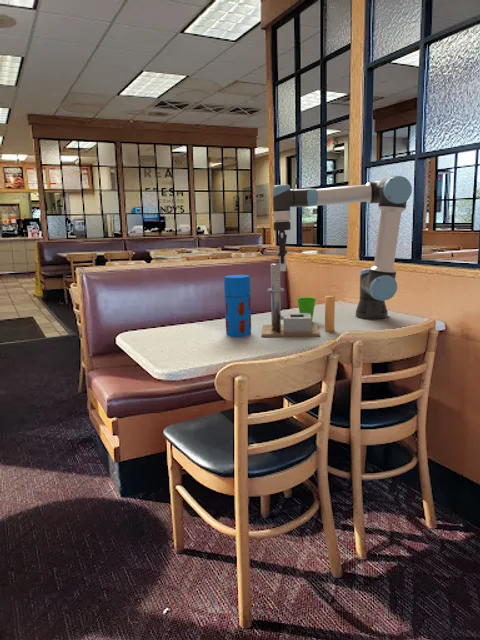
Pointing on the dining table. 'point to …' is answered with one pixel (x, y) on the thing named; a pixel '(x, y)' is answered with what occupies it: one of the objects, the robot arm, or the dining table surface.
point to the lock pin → (329, 313)
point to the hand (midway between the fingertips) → (283, 269)
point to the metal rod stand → (286, 315)
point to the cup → (306, 305)
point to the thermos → (237, 305)
